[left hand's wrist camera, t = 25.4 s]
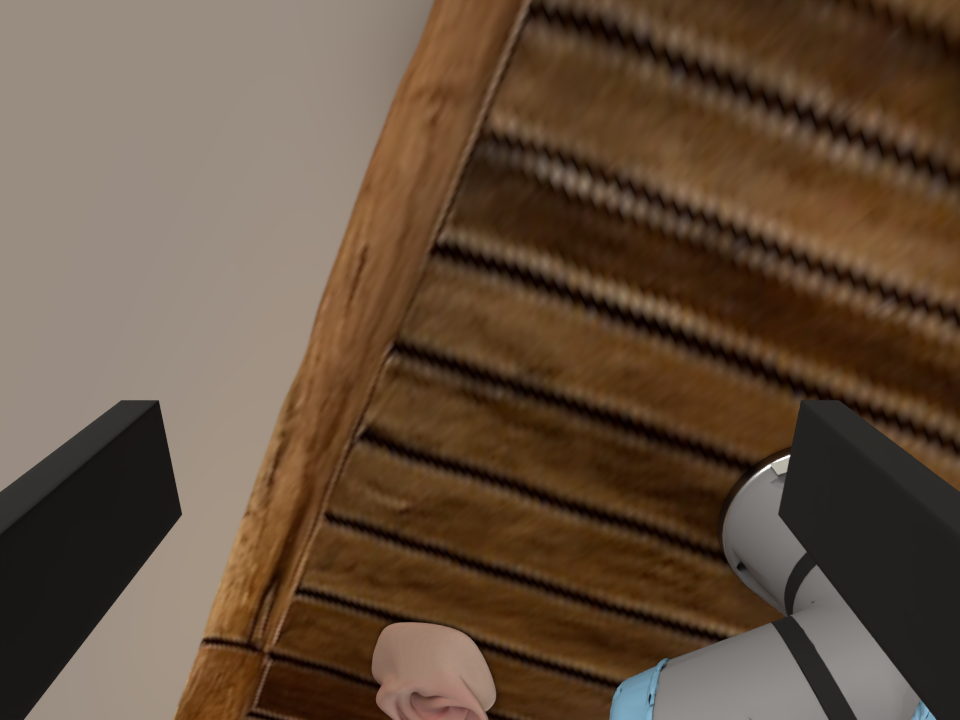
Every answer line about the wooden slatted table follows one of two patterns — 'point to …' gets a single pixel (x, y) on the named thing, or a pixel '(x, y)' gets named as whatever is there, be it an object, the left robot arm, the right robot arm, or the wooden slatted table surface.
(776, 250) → the wooden slatted table surface
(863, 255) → the wooden slatted table surface
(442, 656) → the anatomical model
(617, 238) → the wooden slatted table surface
